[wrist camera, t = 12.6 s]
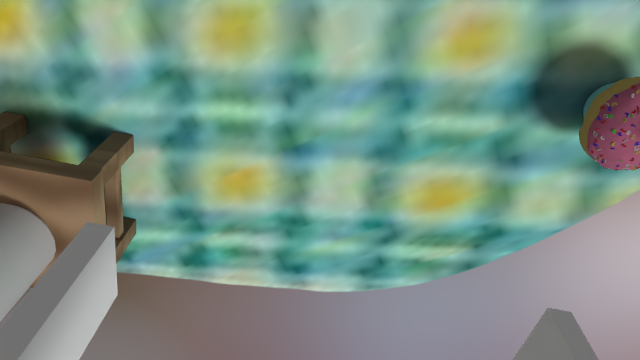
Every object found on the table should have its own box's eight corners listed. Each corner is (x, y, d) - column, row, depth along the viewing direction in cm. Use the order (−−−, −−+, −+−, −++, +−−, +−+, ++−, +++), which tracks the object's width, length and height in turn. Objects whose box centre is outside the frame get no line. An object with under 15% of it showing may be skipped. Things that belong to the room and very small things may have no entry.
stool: (-1, 106, 45) (-82, 150, 37) (138, 131, 46) (91, 181, 37) (20, 216, 52) (-43, 275, 44) (140, 237, 53) (101, 298, 44)
